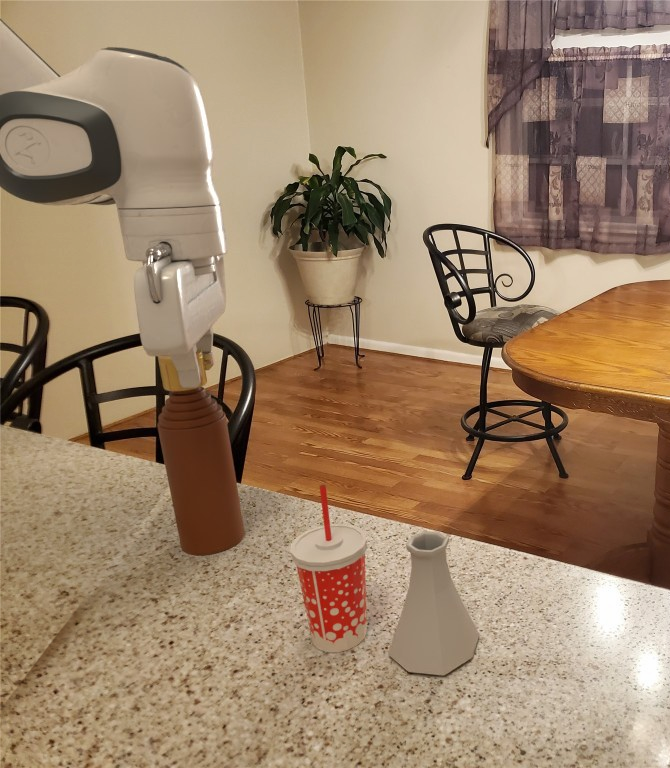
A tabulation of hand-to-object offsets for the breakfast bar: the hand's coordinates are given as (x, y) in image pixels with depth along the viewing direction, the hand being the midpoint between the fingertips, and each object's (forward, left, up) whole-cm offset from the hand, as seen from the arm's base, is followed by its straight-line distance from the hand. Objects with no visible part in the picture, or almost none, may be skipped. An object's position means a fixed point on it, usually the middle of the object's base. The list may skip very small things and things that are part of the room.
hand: (198, 377), depth 69 cm
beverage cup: (+14, -19, -18) cm, 30 cm away
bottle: (-1, 0, -18) cm, 18 cm away
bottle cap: (-1, 0, -1) cm, 1 cm away
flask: (+22, -22, -18) cm, 36 cm away
